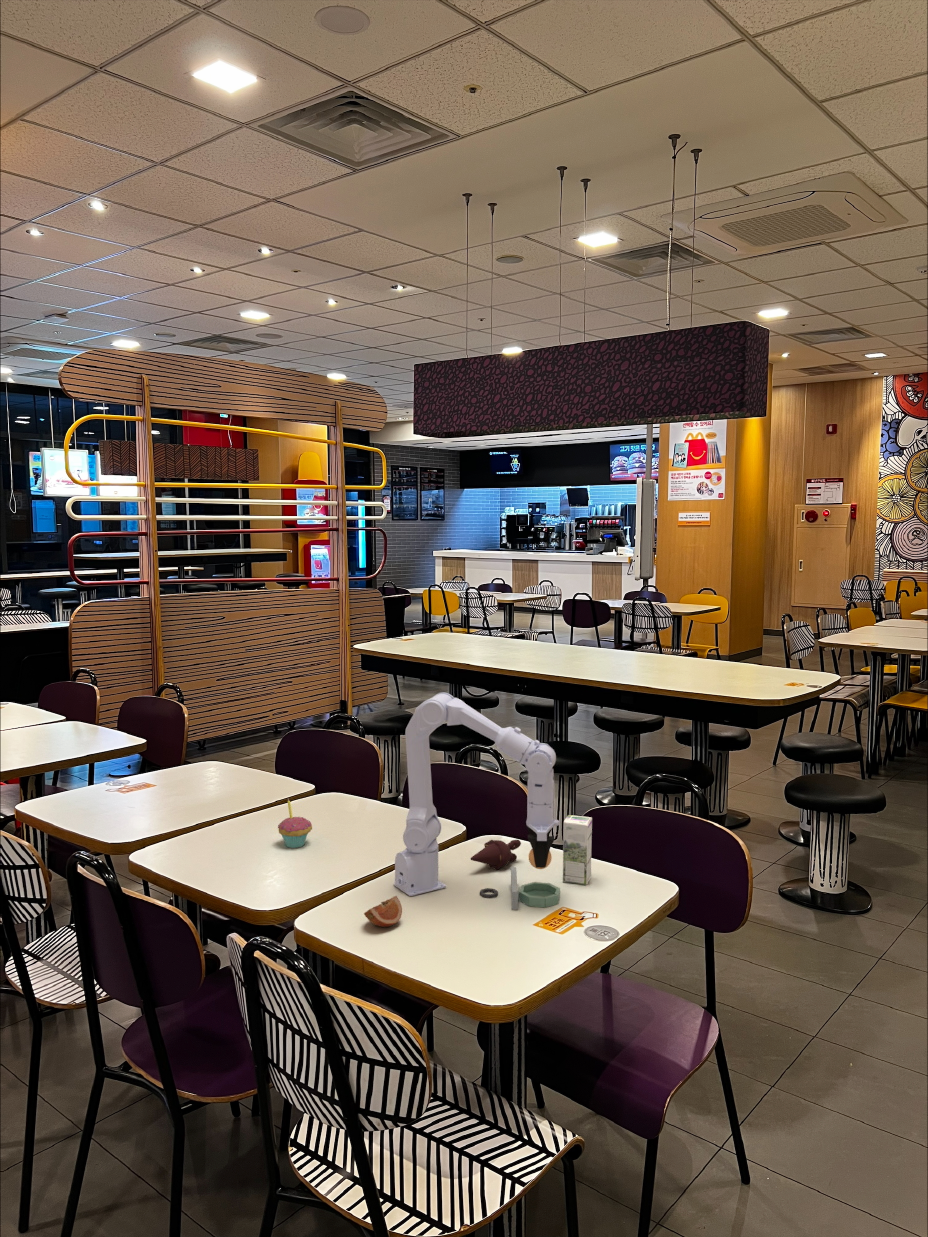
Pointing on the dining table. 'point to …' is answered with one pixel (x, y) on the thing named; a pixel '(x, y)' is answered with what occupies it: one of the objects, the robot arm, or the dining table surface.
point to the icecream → (497, 853)
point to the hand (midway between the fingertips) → (540, 862)
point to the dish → (539, 894)
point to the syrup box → (577, 849)
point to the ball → (532, 862)
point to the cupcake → (294, 830)
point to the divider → (514, 888)
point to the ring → (483, 891)
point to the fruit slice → (385, 913)
